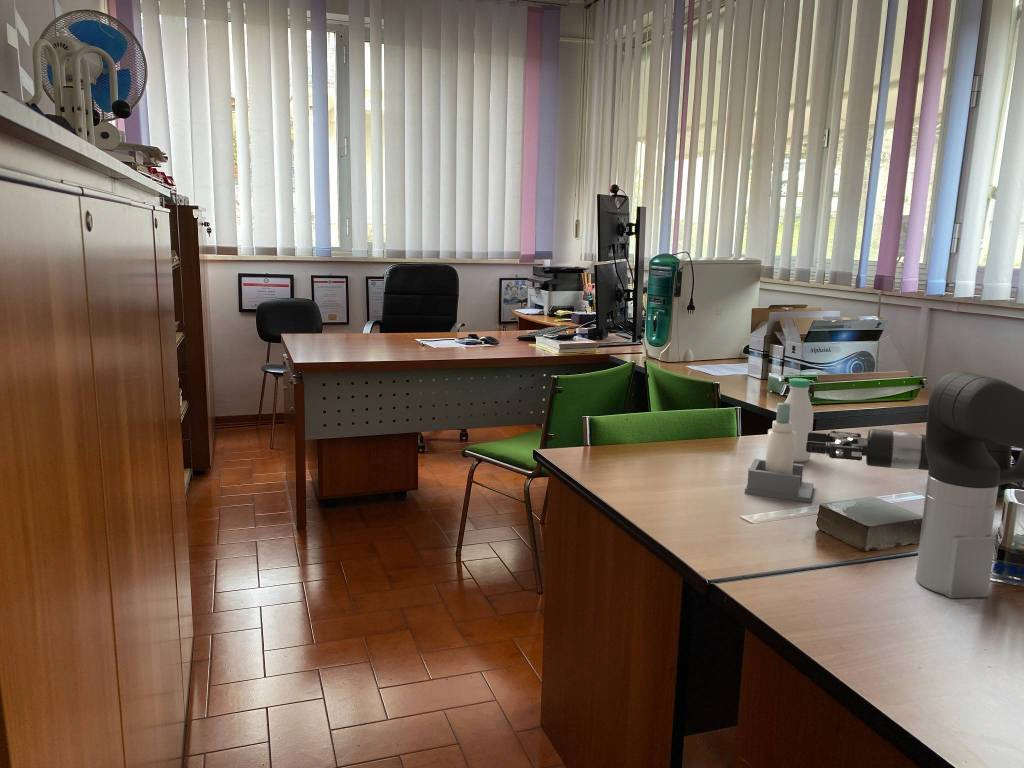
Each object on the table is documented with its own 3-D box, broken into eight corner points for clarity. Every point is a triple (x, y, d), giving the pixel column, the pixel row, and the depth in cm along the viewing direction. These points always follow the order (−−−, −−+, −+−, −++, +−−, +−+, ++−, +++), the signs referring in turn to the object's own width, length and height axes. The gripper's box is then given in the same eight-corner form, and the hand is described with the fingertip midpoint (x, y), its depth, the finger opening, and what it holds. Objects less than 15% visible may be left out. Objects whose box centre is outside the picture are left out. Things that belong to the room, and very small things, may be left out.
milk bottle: (812, 463, 180) (819, 382, 177) (779, 461, 182) (785, 381, 178) (806, 455, 188) (813, 377, 184) (774, 453, 189) (781, 375, 185)
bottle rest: (810, 502, 152) (812, 479, 151) (744, 493, 157) (746, 470, 157) (813, 487, 162) (815, 465, 161) (751, 479, 167) (753, 457, 166)
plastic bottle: (796, 489, 157) (802, 406, 154) (770, 489, 157) (776, 406, 154) (784, 481, 163) (790, 401, 159) (759, 481, 162) (765, 401, 159)
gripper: (894, 477, 143) (804, 467, 150) (889, 458, 156) (807, 450, 162) (897, 439, 142) (806, 431, 148) (892, 423, 155) (809, 417, 161)
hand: (806, 441), depth 155 cm, fingers open, 8 cm apart
